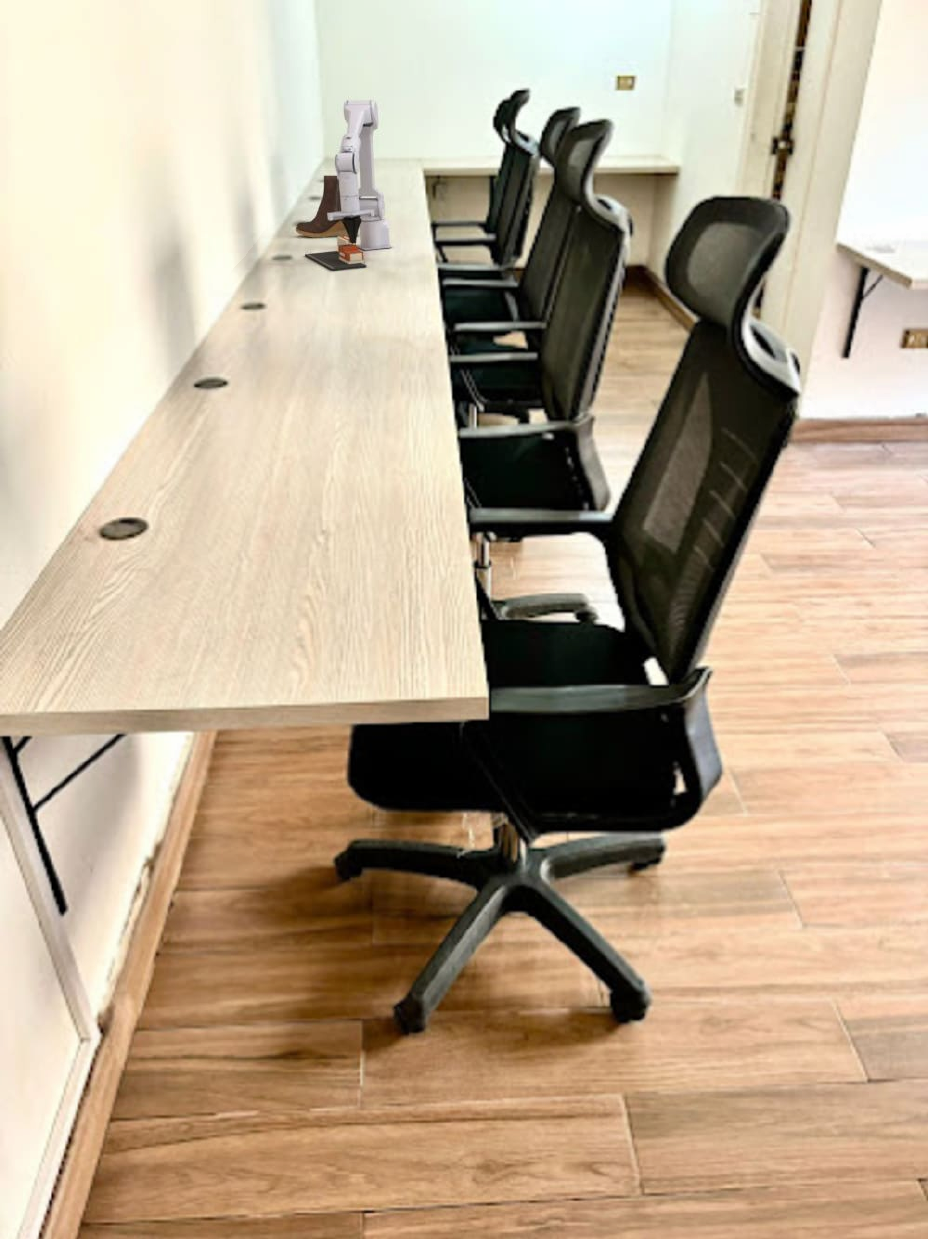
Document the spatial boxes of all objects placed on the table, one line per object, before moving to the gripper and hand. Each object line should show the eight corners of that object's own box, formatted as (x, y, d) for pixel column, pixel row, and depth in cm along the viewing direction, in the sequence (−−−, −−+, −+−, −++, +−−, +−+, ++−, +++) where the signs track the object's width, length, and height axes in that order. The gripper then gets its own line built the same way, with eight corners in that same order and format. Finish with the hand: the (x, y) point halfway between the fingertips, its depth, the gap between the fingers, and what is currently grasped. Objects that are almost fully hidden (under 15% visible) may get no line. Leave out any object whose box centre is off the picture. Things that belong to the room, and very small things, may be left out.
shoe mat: (337, 252, 314) (336, 250, 314) (366, 267, 293) (366, 265, 292) (305, 256, 311) (304, 253, 310) (332, 271, 289) (332, 268, 288)
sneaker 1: (350, 251, 316) (348, 235, 313) (359, 256, 308) (358, 239, 306) (338, 252, 314) (336, 236, 312) (347, 257, 307) (346, 240, 304)
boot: (299, 234, 347) (293, 173, 337) (364, 233, 345) (360, 173, 334) (293, 238, 340) (287, 176, 329) (360, 238, 337) (355, 176, 327)
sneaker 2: (352, 243, 301) (337, 245, 299) (363, 248, 294) (347, 249, 292) (354, 257, 303) (339, 259, 302) (364, 262, 296) (348, 264, 294)
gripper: (331, 199, 285) (335, 247, 292) (376, 195, 290) (379, 242, 297) (323, 196, 290) (327, 243, 297) (368, 192, 295) (371, 239, 302)
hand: (353, 242), depth 297 cm, fingers closed
